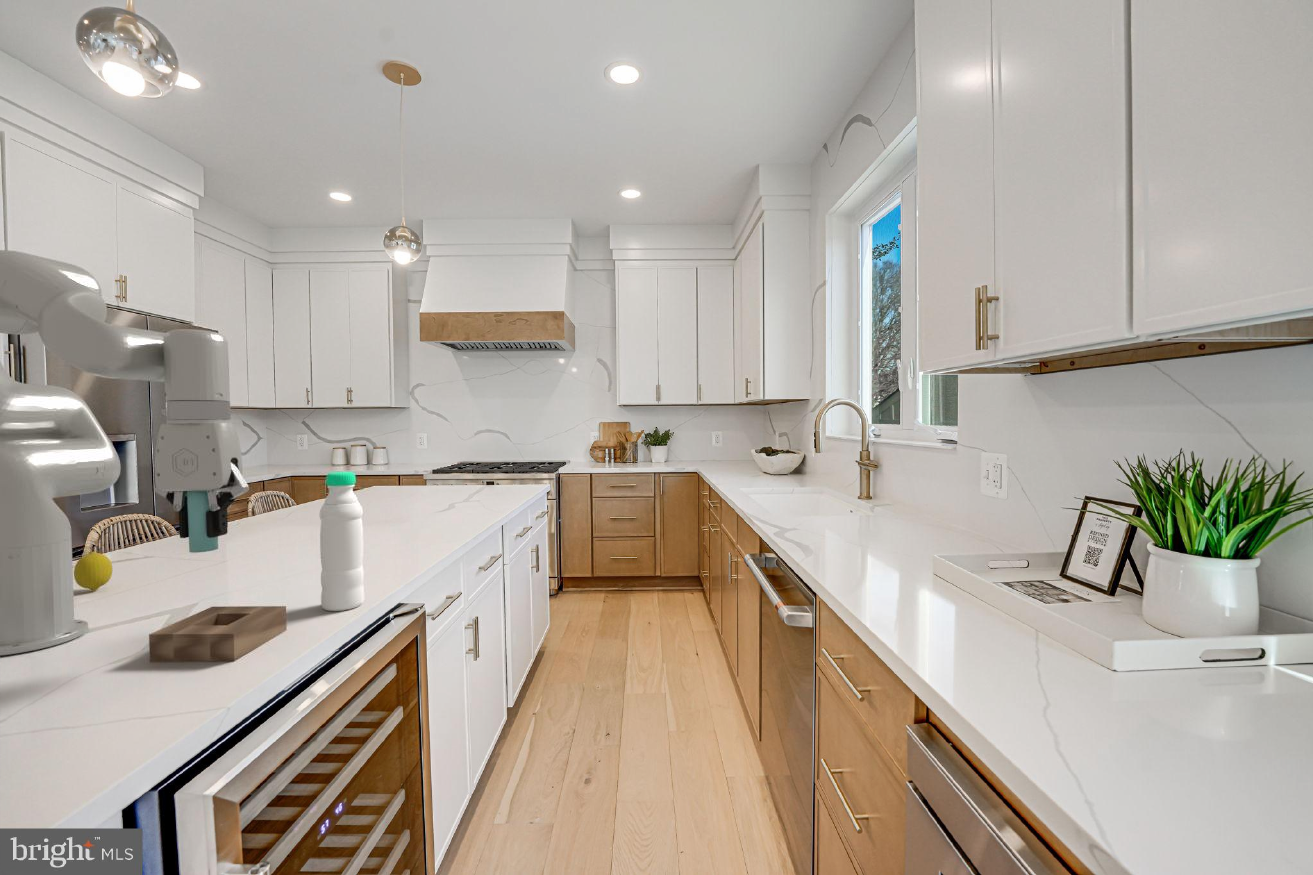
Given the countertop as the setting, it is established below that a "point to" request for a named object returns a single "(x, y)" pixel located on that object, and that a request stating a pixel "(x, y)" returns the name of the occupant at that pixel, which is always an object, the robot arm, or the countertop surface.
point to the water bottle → (341, 545)
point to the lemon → (93, 571)
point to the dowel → (199, 523)
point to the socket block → (217, 634)
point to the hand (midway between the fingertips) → (204, 534)
